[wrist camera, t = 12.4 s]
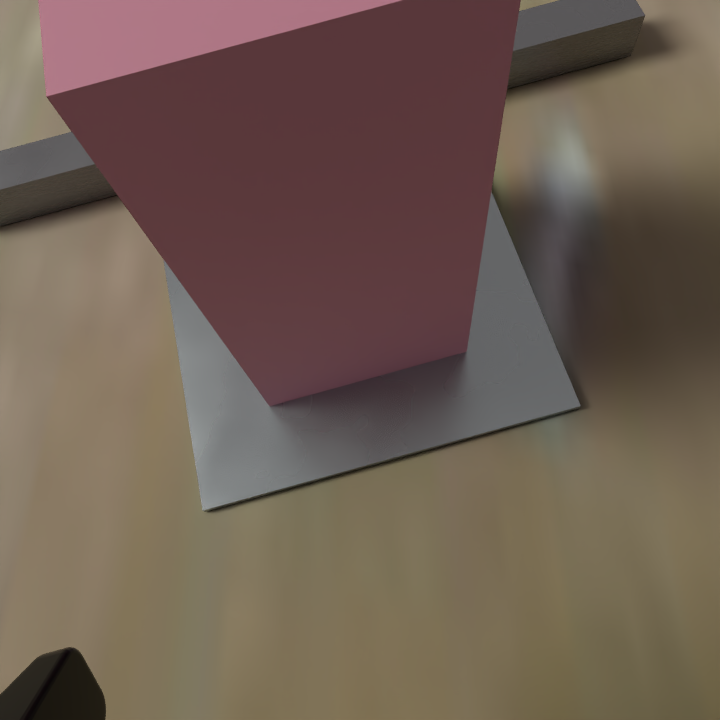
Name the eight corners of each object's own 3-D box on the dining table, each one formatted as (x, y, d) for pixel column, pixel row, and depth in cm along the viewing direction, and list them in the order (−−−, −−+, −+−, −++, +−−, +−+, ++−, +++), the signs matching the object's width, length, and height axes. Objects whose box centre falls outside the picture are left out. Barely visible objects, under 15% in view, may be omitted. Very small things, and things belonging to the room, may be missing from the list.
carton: (466, 351, 17) (525, -34, 7) (269, 406, 17) (46, 96, 7) (406, 183, 20) (386, -292, 9) (232, 231, 19) (22, -195, 9)
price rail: (609, 20, 22) (622, -22, 20) (801, 346, 17) (835, 322, 15) (-28, 192, 21) (-60, 162, 20) (-22, 574, 16) (-63, 570, 15)
